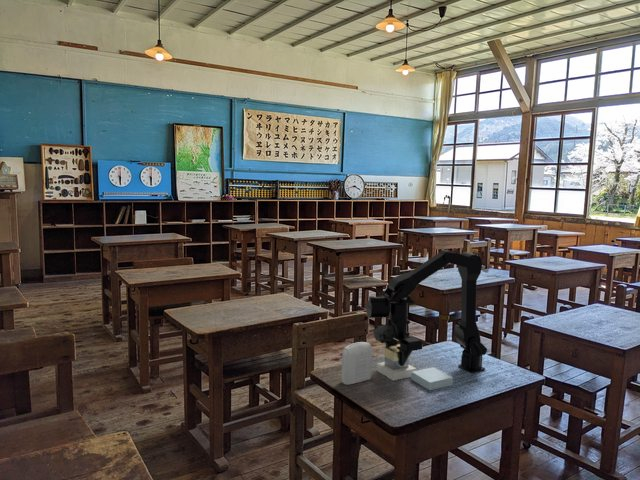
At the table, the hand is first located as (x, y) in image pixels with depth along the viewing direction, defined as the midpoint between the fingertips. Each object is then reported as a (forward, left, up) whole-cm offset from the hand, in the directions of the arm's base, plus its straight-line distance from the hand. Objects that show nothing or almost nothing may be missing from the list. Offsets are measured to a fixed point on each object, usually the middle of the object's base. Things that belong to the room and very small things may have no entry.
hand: (396, 362), depth 159 cm
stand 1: (0, 0, -4) cm, 4 cm away
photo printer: (+15, -1, -4) cm, 15 cm away
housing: (0, 0, -1) cm, 1 cm away
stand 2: (-6, +10, -4) cm, 13 cm away
